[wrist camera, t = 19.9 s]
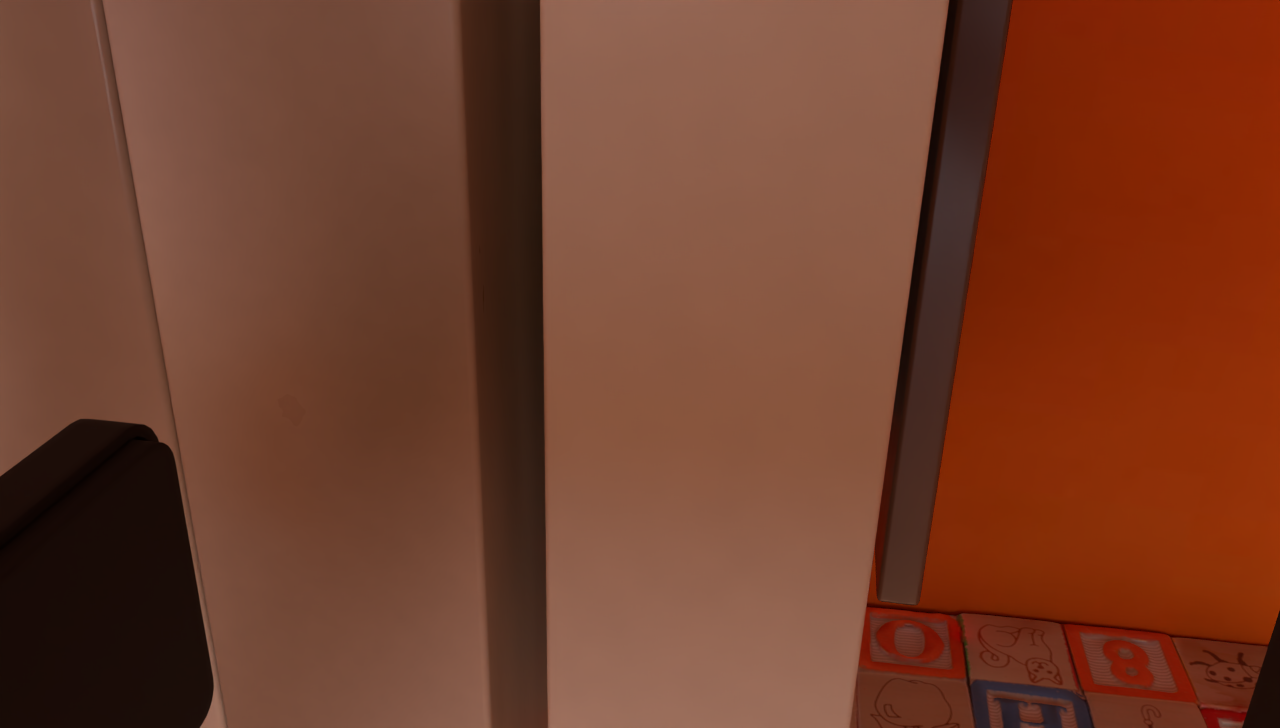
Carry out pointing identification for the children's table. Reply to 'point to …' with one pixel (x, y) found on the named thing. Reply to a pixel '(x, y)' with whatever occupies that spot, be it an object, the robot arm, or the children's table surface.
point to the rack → (360, 323)
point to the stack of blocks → (1044, 675)
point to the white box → (722, 345)
